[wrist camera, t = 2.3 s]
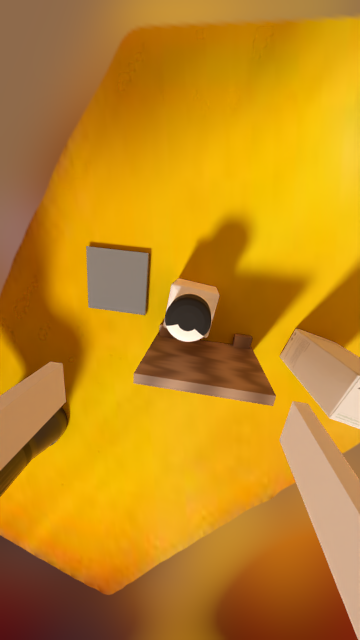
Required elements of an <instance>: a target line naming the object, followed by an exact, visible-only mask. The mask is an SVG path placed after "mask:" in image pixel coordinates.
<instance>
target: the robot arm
mask: <svg viewBox="0 0 360 640" xmlns="http://www.w3.org/2000/svg"><path fill="white" fill-rule="evenodd" d="M65 402H66V396H65V384H64V373H63V363H57V362H51V361H50V362H49V363H48V364H46V365H45V366H43V367H42V368H40V369H39V370H37V371H36V372H34V373H33V374H32V375H30V376H29V377H27V378H26V379H24V380H23V381H21V382H20V383H18V384H17V385H16V386H14V387H13V388H11V389H10V390H8V391H7V392H5V393H4V394H2V395H1V396H0V497H1V495H2V494H3V493H4V492H5V491H6V489H7V488H8V487H9V486H10V485H11V484H12V482H13V481H14V480H15V479H16V478H17V476H18V475H19V474H20V473H21V472H22V470H23V469H24V468H25V467H26V466H27V464H28V463H29V462H30V461H31V460H32V459H33V458H34V457H36V456H37V455H38V454H40V453H41V452H42V451H44V450H45V449H46V448H47V447H49V446H51V445H52V444H54V443H55V442H56V441H57V440H58V439H59V438H60V437H61V435H62V434H63V433H64V432H65V430H66V427H67V418H66V415H65V412H64V410H63V409H62V407H61V406H62V405H63V404H64V403H65ZM280 443H281V445H282V448H283V450H284V453H285V455H286V458H287V460H288V463H289V466H290V468H291V471H292V473H293V476H294V478H295V481H296V483H297V486H298V488H299V491H300V493H301V496H302V498H303V500H304V504H305V506H306V509H307V511H308V514H309V516H310V519H311V521H312V524H313V526H314V529H315V531H316V534H317V536H318V539H319V541H320V544H321V547H322V549H323V552H324V554H325V557H326V559H327V562H328V564H329V567H330V569H331V572H332V575H333V577H334V580H335V582H336V584H337V587H338V590H339V592H340V595H341V597H342V600H343V602H344V605H345V607H346V610H347V613H348V615H349V617H350V620H351V623H352V625H353V628H354V630H355V633H356V635H357V638H358V640H360V480H359V479H358V477H357V476H356V474H355V473H354V471H353V470H352V468H351V467H350V465H349V464H348V462H347V461H346V459H345V458H344V456H343V455H342V454H341V452H340V451H339V449H338V448H337V446H336V445H335V443H334V442H333V440H332V439H331V437H330V436H329V434H328V433H327V431H326V430H325V429H324V427H323V426H322V424H321V423H320V421H319V420H318V418H317V417H316V415H315V414H314V412H313V411H312V409H311V408H310V406H309V405H308V404H306V403H300V402H294V401H293V402H292V405H291V408H290V411H289V414H288V417H287V420H286V423H285V426H284V429H283V432H282V435H281V437H280Z"/></svg>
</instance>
